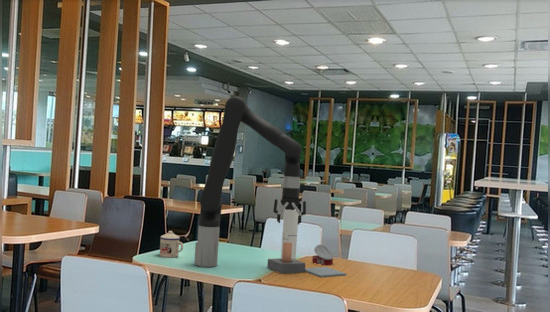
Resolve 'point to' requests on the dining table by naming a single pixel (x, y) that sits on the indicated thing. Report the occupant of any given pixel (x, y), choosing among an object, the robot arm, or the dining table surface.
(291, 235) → the cylindrical container
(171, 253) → the teacup with lid
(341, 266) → the dining table surface
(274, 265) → the gray square hole block
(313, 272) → the mat
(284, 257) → the plug
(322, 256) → the canned food
